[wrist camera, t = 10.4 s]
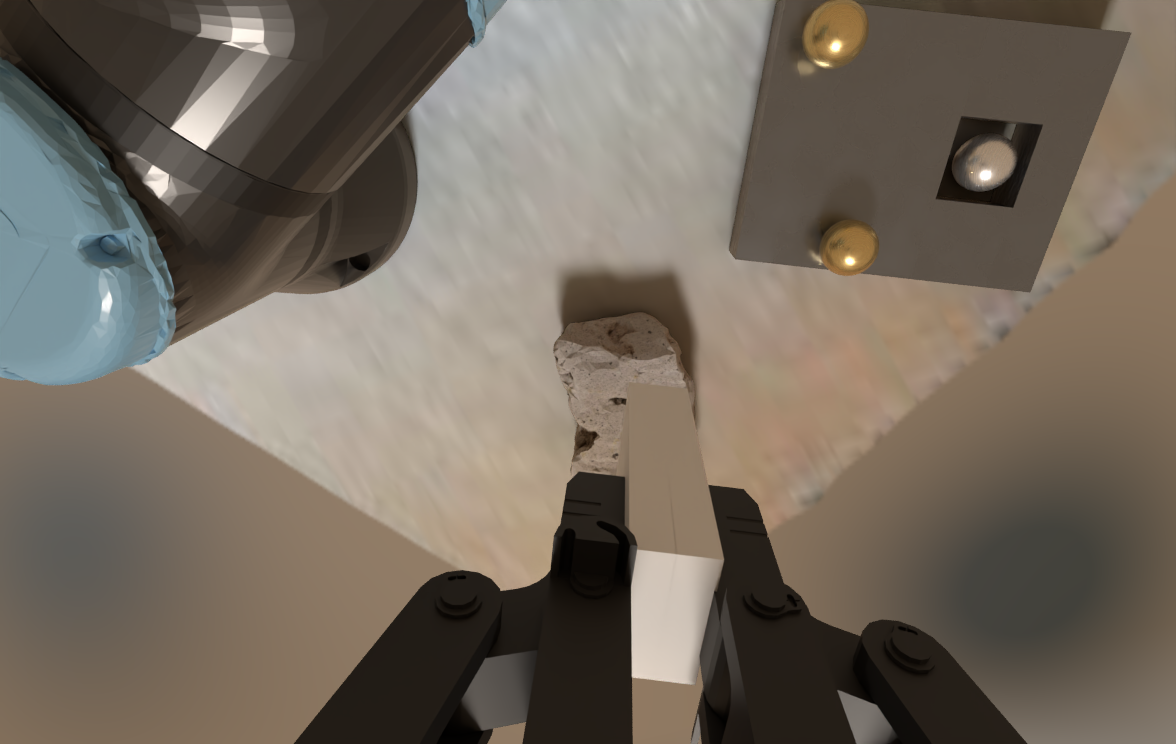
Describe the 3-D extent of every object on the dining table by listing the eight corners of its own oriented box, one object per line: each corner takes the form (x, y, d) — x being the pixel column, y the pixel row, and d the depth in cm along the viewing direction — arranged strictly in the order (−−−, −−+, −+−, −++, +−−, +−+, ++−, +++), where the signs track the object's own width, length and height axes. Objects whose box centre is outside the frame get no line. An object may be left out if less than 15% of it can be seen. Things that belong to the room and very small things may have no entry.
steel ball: (934, 186, 37) (992, 195, 35) (952, 129, 36) (1013, 134, 33) (958, 187, 39) (1014, 195, 36) (976, 132, 37) (1035, 137, 35)
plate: (729, 250, 40) (735, 259, 38) (775, 4, 35) (786, -4, 33) (1007, 281, 40) (1030, 292, 38) (1098, 37, 35) (1131, 32, 32)
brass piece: (789, 67, 34) (804, 63, 31) (803, 0, 33) (820, -11, 30) (847, 73, 34) (868, 70, 31) (863, 6, 33) (887, -4, 30)
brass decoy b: (807, 265, 38) (822, 278, 35) (820, 212, 37) (836, 221, 34) (859, 271, 38) (879, 284, 35) (874, 218, 37) (895, 227, 34)
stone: (586, 488, 48) (712, 452, 47) (581, 526, 42) (725, 488, 41) (528, 327, 45) (662, 284, 43) (515, 347, 39) (669, 298, 38)
